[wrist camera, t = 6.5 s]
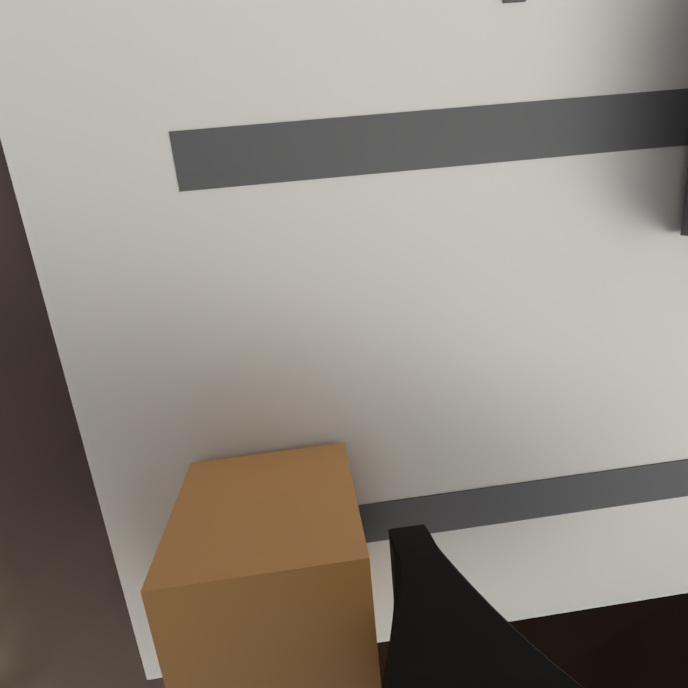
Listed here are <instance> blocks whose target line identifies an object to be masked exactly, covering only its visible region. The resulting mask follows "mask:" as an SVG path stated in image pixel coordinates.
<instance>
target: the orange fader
mask: <svg viewBox="0 0 688 688" xmlns="http://www.w3.org/2000/svg"><path fill="white" fill-rule="evenodd" d="M140 592H141V596H142V600H143V604H144V608H145V612H146V616H147V620H148V623H149V627H150V631H151V635H152V639H153V643H154V647H155V650H156V654H157V658H158V662H159V666H160V670H161V674H162V677H163V681H164V685H165V688H381V679H380V668H379V657H378V646H377V635H376V624H375V613H374V602H373V591H372V580H371V569H370V559H369V554H368V549H367V544H366V540H365V535H364V530H363V526H362V521H361V517H360V512H359V507H358V503H357V498H356V494H355V489H354V484H353V480H352V475H351V471H350V466H349V461H348V457H347V452H346V447H345V443H338V444H330V445H323V446H315V447H307V448H300V449H292V450H284V451H277V452H269V453H262V454H254V455H246V456H239V457H231V458H223V459H216V460H208V461H200V462H193V463H190V466H189V468H188V471H187V474H186V476H185V479H184V481H183V484H182V486H181V489H180V491H179V494H178V497H177V499H176V502H175V504H174V507H173V509H172V512H171V515H170V517H169V520H168V522H167V525H166V527H165V530H164V532H163V535H162V538H161V540H160V543H159V545H158V548H157V550H156V553H155V556H154V558H153V561H152V563H151V566H150V568H149V571H148V573H147V576H146V579H145V581H144V584H143V586H142V589H141V591H140Z"/></svg>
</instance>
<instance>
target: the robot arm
mask: <svg viewBox="0 0 688 688" xmlns="http://www.w3.org/2000/svg"><path fill="white" fill-rule="evenodd" d="M388 531H389V544H390V557H391V570H392V584H393V597H394V605H393V618H392V626H391V634H390V642H389V649H388V657H387V663H386V669H385V675H384V680H383V686H382V688H584V687H583V686H581V685H580V684H579V683H578V682H576V681H575V680H574V679H573V678H572V677H570V676H569V675H568V674H567V673H565V672H564V671H563V670H562V669H561V668H559V667H558V666H557V665H556V664H555V663H553V662H552V661H551V660H550V659H549V658H548V657H546V656H545V655H544V654H543V653H542V652H541V651H539V650H538V649H537V648H536V647H535V646H534V645H533V644H532V643H530V642H529V641H528V640H527V639H526V638H525V637H524V636H523V635H522V634H521V633H520V632H519V631H517V630H516V629H515V628H514V627H513V626H512V625H511V624H510V623H509V622H508V621H507V620H506V619H505V618H504V617H503V616H502V615H501V614H500V613H499V612H498V611H497V610H496V609H495V608H494V607H492V606H491V604H490V603H489V602H488V601H487V600H486V599H485V598H484V597H483V596H482V595H481V594H480V593H479V592H478V591H477V590H476V589H475V588H474V587H473V586H472V585H471V584H470V583H469V582H468V581H467V579H466V578H465V577H464V576H463V575H462V574H461V573H460V572H459V571H458V570H457V568H456V567H455V566H454V565H453V564H452V563H451V562H450V560H449V559H448V558H447V557H446V556H445V555H444V553H443V552H442V551H441V550H440V549H439V547H438V546H437V545H436V543H435V541H434V539H433V537H432V536H431V534H430V533H429V531H428V529H427V528H426V526H425V525H424V524H421V525H414V526H407V527H400V528H393V529H388Z"/></svg>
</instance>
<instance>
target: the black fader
mask: <svg viewBox="0 0 688 688" xmlns="http://www.w3.org/2000/svg"><path fill="white" fill-rule="evenodd" d="M680 235H683V236H688V166H687V176H686V185H685V195H684V205H683V214H682V224H681V233H680Z"/></svg>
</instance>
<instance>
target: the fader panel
mask: <svg viewBox="0 0 688 688" xmlns="http://www.w3.org/2000/svg"><path fill="white" fill-rule="evenodd" d="M0 139H1V143H2V147H3V150H4V154H5V158H6V161H7V165H8V169H9V172H10V176H11V180H12V183H13V187H14V191H15V194H16V198H17V202H18V206H19V209H20V213H21V217H22V220H23V224H24V228H25V231H26V235H27V239H28V242H29V246H30V250H31V254H32V257H33V261H34V265H35V268H36V272H37V276H38V279H39V283H40V287H41V290H42V294H43V298H44V301H45V305H46V309H47V313H48V316H49V320H50V324H51V327H52V331H53V335H54V338H55V342H56V346H57V349H58V353H59V357H60V360H61V364H62V368H63V372H64V375H65V379H66V383H67V386H68V390H69V394H70V397H71V401H72V405H73V408H74V412H75V416H76V420H77V423H78V427H79V431H80V434H81V438H82V442H83V445H84V449H85V453H86V456H87V460H88V464H89V467H90V471H91V475H92V479H93V482H94V486H95V490H96V493H97V497H98V501H99V504H100V508H101V512H102V515H103V519H104V523H105V526H106V530H107V534H108V538H109V541H110V545H111V549H112V552H113V556H114V560H115V563H116V567H117V571H118V574H119V578H120V582H121V586H122V589H123V593H124V597H125V600H126V604H127V608H128V611H129V615H130V619H131V622H132V626H133V630H134V633H135V637H136V641H137V645H138V648H139V652H140V656H141V659H142V663H143V667H144V670H145V674H146V678H147V680H150V679H156V678H162V674H161V670H160V666H159V662H158V658H157V654H156V650H155V647H154V643H153V639H152V635H151V631H150V627H149V623H148V620H147V616H146V612H145V608H144V604H143V600H142V596H141V592H140V591H141V589H142V586H143V584H144V581H145V579H146V576H147V573H148V571H149V568H150V566H151V563H152V561H153V558H154V556H155V553H156V550H157V548H158V545H159V543H160V540H161V538H162V535H163V532H164V530H165V527H166V525H167V522H168V520H169V517H170V515H171V512H172V509H173V507H174V504H175V502H176V499H177V497H178V494H179V491H180V489H181V486H182V484H183V481H184V479H185V476H186V474H187V471H188V468H189V466H190V463H193V462H200V461H208V460H216V459H223V458H231V457H239V456H246V455H254V454H262V453H269V452H277V451H284V450H292V449H300V448H307V447H315V446H323V445H330V444H338V443H345V447H346V452H347V457H348V461H349V466H350V471H351V475H352V480H353V484H354V489H355V494H356V498H357V503H358V507H359V512H360V517H361V521H362V526H363V530H364V535H365V540H366V544H367V549H368V554H369V559H370V569H371V580H372V591H373V602H374V613H375V624H376V635H377V643H379V642H386V641H390V634H391V626H392V618H393V605H394V597H393V584H392V570H391V557H390V544H389V531H388V529H393V528H400V527H407V526H414V525H421V524H424V525H425V526H426V528H427V529H428V531H429V533H430V534H431V536H432V537H433V539H434V541H435V543H436V545H437V546H438V547H439V549H440V550H441V551H442V552H443V553H444V555H445V556H446V557H447V558H448V559H449V560H450V562H451V563H452V564H453V565H454V566H455V567H456V568H457V570H458V571H459V572H460V573H461V574H462V575H463V576H464V577H465V578H466V579H467V581H468V582H469V583H470V584H471V585H472V586H473V587H474V588H475V589H476V590H477V591H478V592H479V593H480V594H481V595H482V596H483V597H484V598H485V599H486V600H487V601H488V602H489V603H490V604H491V606H492V607H494V608H495V609H496V610H497V611H498V612H499V613H500V614H501V615H502V616H503V617H504V618H505V619H506V620H507V621H508V622H510V621H516V620H522V619H528V618H535V617H541V616H547V615H553V614H560V613H566V612H572V611H578V610H584V609H591V608H597V607H603V606H609V605H615V604H622V603H628V602H634V601H640V600H646V599H653V598H659V597H665V596H671V595H677V594H684V593H688V236H683V235H680V233H681V224H682V214H683V205H684V195H685V185H686V176H687V166H688V0H0Z"/></svg>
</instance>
